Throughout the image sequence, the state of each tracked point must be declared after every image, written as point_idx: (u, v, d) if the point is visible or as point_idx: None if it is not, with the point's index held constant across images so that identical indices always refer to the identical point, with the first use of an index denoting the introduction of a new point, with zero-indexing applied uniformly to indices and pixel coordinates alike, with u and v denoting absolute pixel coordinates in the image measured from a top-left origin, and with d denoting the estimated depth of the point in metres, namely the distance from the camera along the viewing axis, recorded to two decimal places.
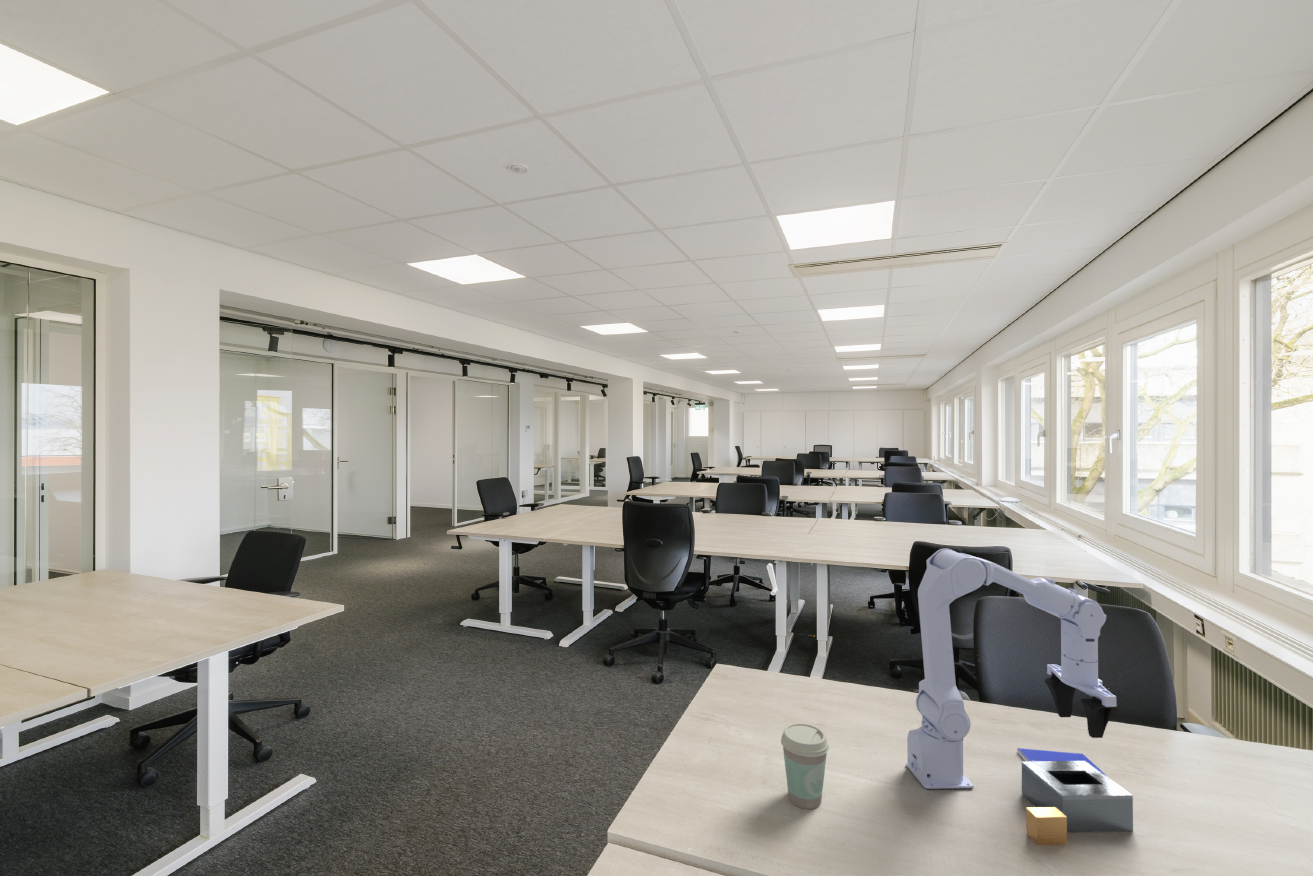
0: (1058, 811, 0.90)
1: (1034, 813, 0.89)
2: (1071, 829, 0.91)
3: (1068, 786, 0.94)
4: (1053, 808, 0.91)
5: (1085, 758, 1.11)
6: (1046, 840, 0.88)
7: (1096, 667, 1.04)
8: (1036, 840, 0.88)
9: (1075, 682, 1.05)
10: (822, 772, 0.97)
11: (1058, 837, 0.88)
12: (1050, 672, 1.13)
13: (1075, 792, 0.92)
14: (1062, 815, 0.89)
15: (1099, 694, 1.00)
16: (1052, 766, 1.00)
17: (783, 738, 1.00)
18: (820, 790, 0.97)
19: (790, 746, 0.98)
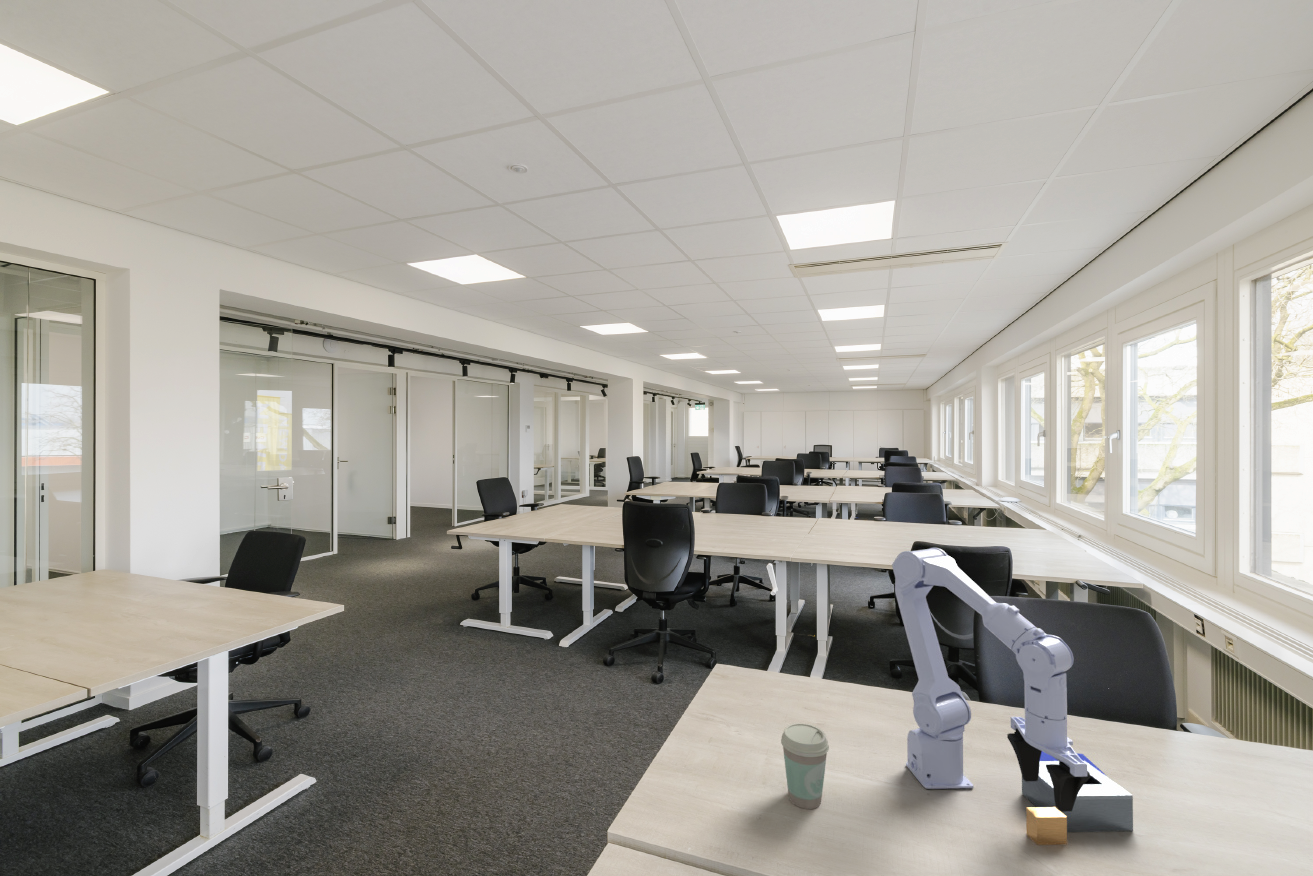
0: (1058, 811, 0.90)
1: (1034, 813, 0.89)
2: (1071, 829, 0.91)
3: None
4: (1053, 808, 0.91)
5: (1085, 758, 1.11)
6: (1046, 840, 0.88)
7: (1065, 726, 0.87)
8: (1036, 840, 0.88)
9: (1040, 743, 0.88)
10: (822, 772, 0.97)
11: (1058, 837, 0.88)
12: (1014, 726, 0.96)
13: None
14: (1062, 815, 0.89)
15: (1067, 760, 0.84)
16: None
17: (783, 738, 1.00)
18: (820, 790, 0.97)
19: (790, 746, 0.98)
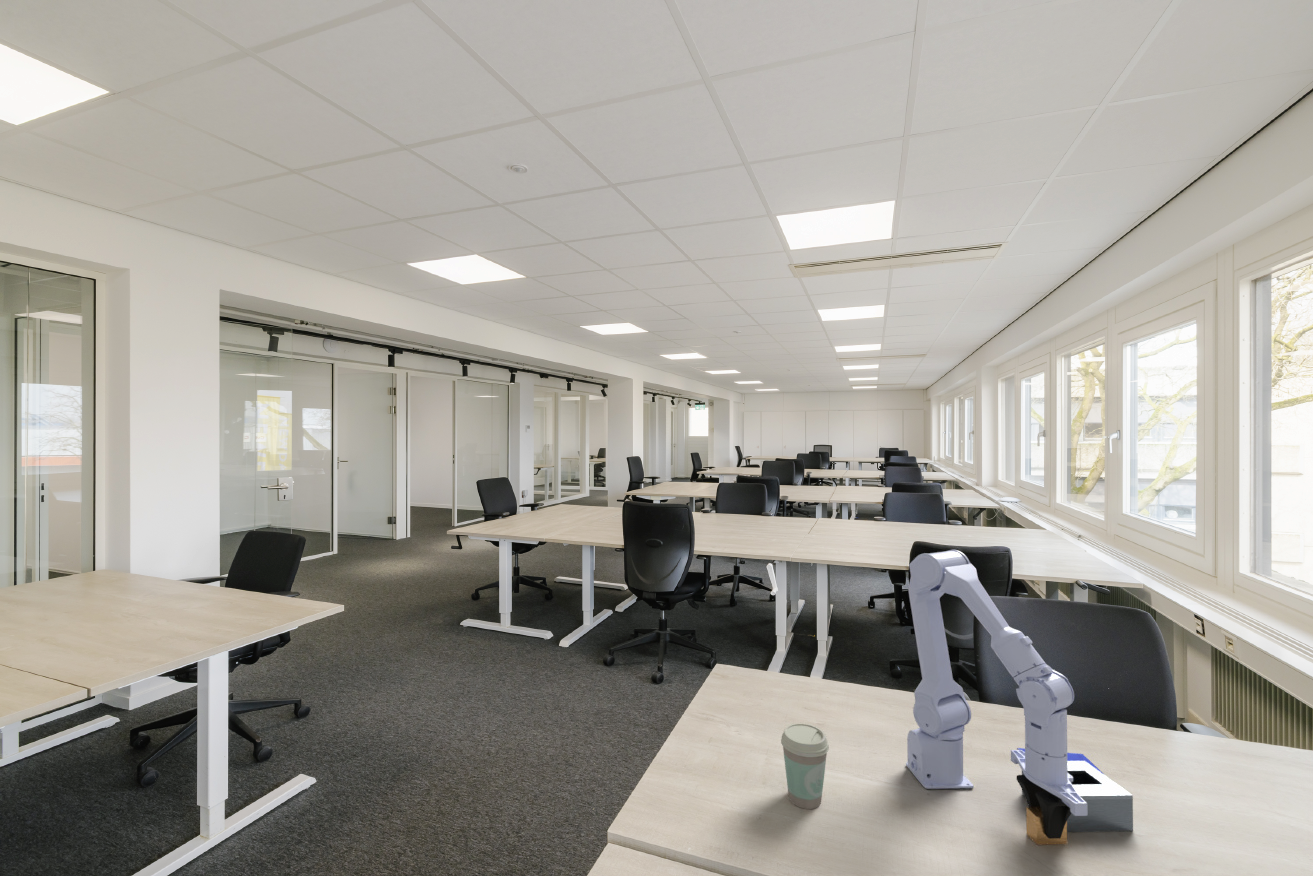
0: None
1: (1034, 813, 0.89)
2: (1071, 829, 0.91)
3: None
4: None
5: (1085, 758, 1.11)
6: (1046, 840, 0.88)
7: (1065, 763, 0.87)
8: (1036, 840, 0.88)
9: (1040, 779, 0.88)
10: (822, 772, 0.97)
11: None
12: (1014, 760, 0.96)
13: None
14: None
15: (1067, 799, 0.84)
16: None
17: (783, 738, 1.00)
18: (820, 790, 0.97)
19: (790, 746, 0.98)
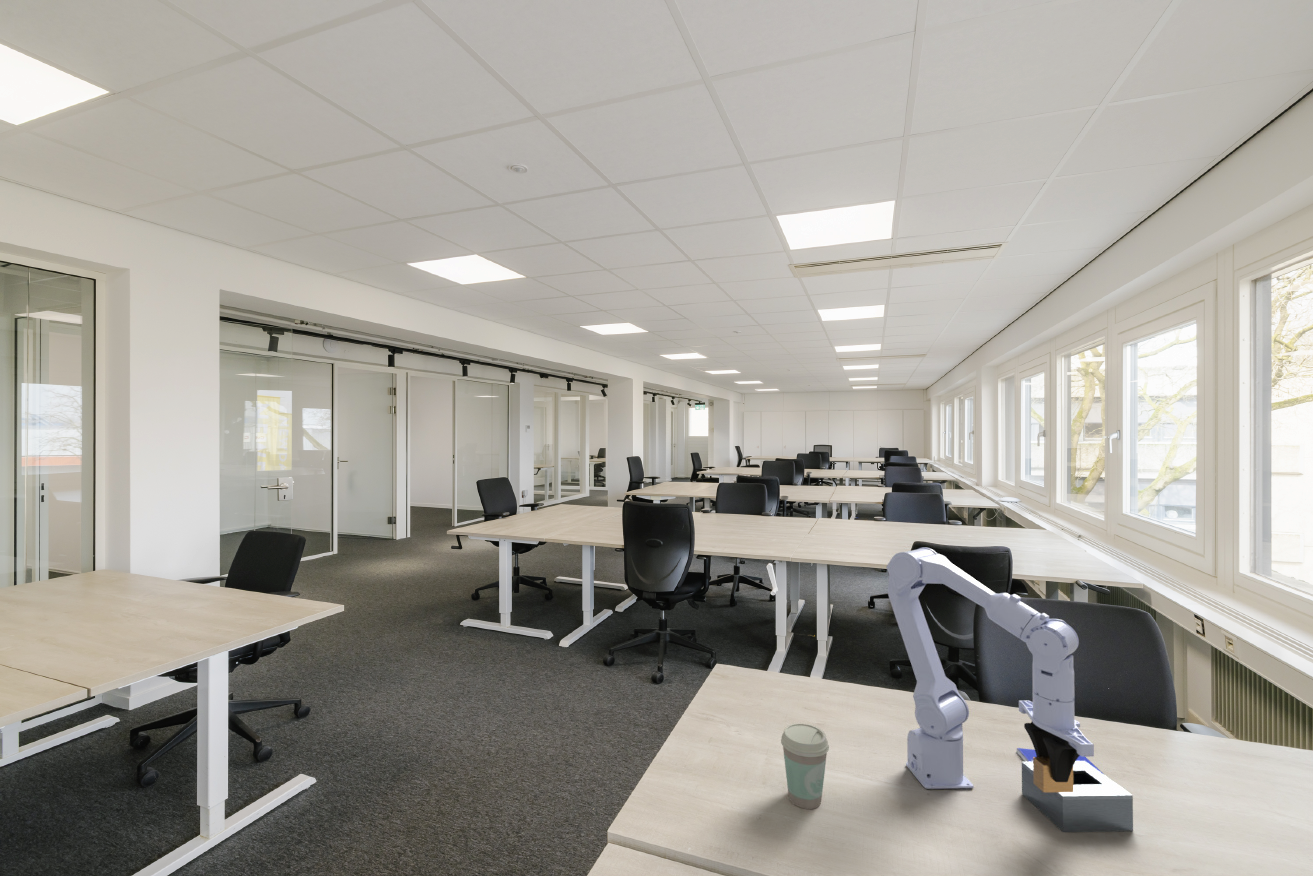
0: None
1: (1041, 762, 0.91)
2: (1071, 829, 0.91)
3: None
4: None
5: (1085, 758, 1.11)
6: (1053, 787, 0.90)
7: (1072, 708, 0.89)
8: (1043, 787, 0.90)
9: (1047, 724, 0.90)
10: (822, 772, 0.97)
11: (1065, 785, 0.90)
12: (1022, 710, 0.98)
13: (1075, 792, 0.92)
14: None
15: (1074, 741, 0.86)
16: None
17: (783, 738, 1.00)
18: (820, 790, 0.97)
19: (790, 746, 0.98)
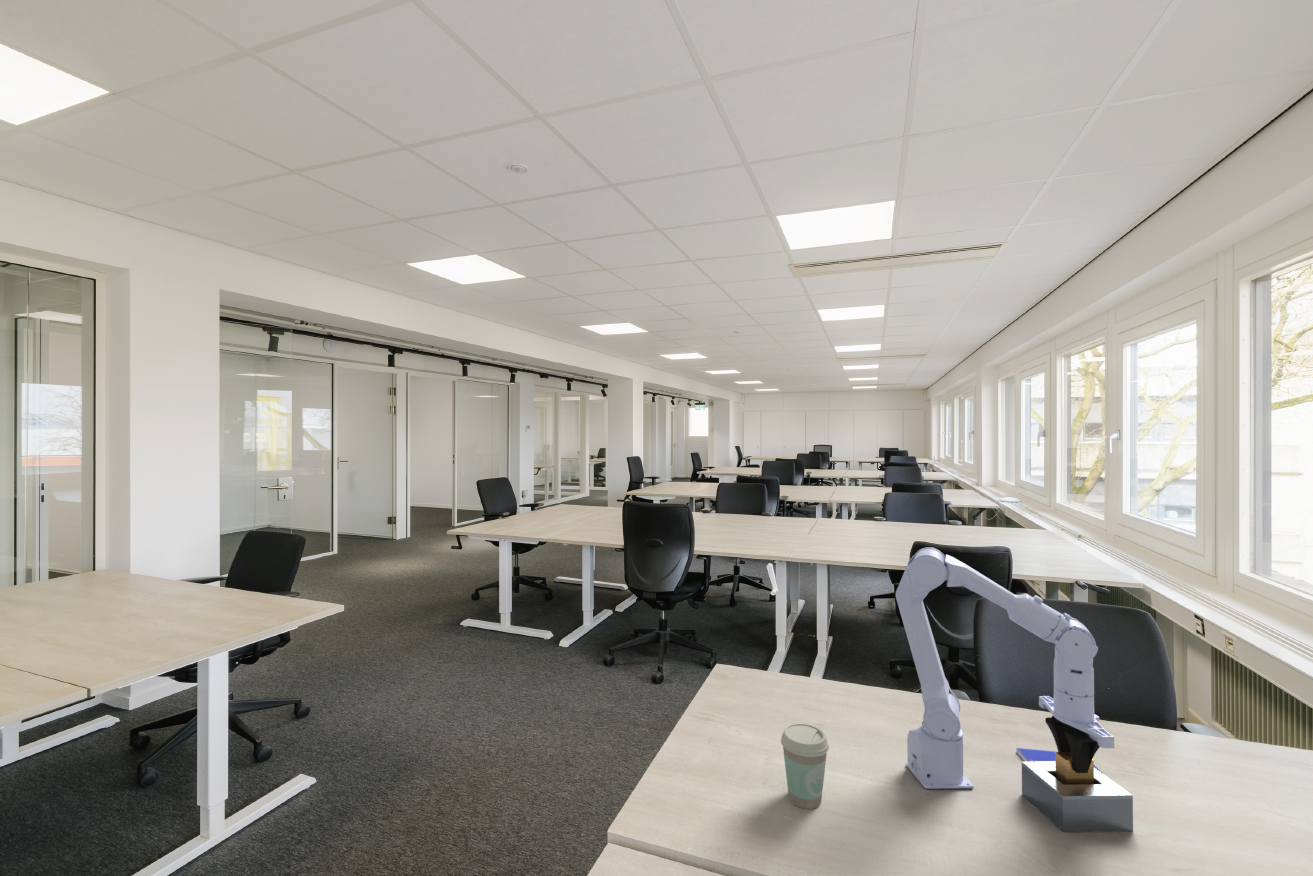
0: None
1: (1063, 757, 0.96)
2: (1071, 829, 0.91)
3: (1068, 786, 0.94)
4: None
5: None
6: (1074, 781, 0.95)
7: (1092, 702, 0.94)
8: (1065, 781, 0.95)
9: (1069, 718, 0.95)
10: (822, 772, 0.97)
11: (1086, 778, 0.95)
12: (1042, 705, 1.03)
13: (1075, 792, 0.92)
14: None
15: (1095, 734, 0.91)
16: (1052, 766, 1.00)
17: (783, 738, 1.00)
18: (820, 790, 0.97)
19: (790, 746, 0.98)
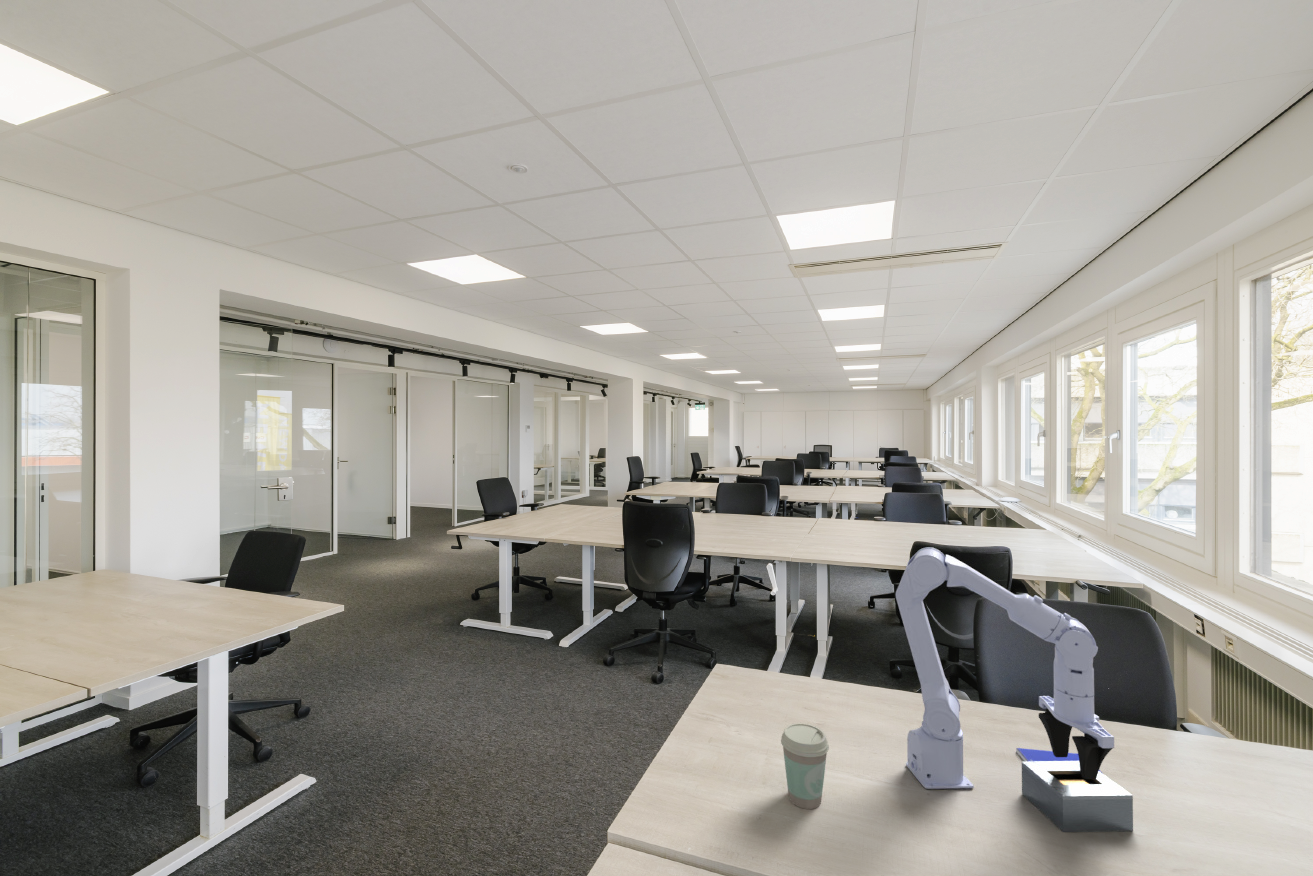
0: (1086, 783, 0.96)
1: (1063, 784, 0.96)
2: (1071, 829, 0.91)
3: (1068, 786, 0.94)
4: (1081, 780, 0.97)
5: None
6: None
7: (1092, 702, 0.94)
8: None
9: (1069, 718, 0.95)
10: (822, 772, 0.97)
11: None
12: (1042, 705, 1.03)
13: (1075, 792, 0.92)
14: None
15: (1095, 734, 0.91)
16: (1052, 766, 1.00)
17: (783, 738, 1.00)
18: (820, 790, 0.97)
19: (790, 746, 0.98)
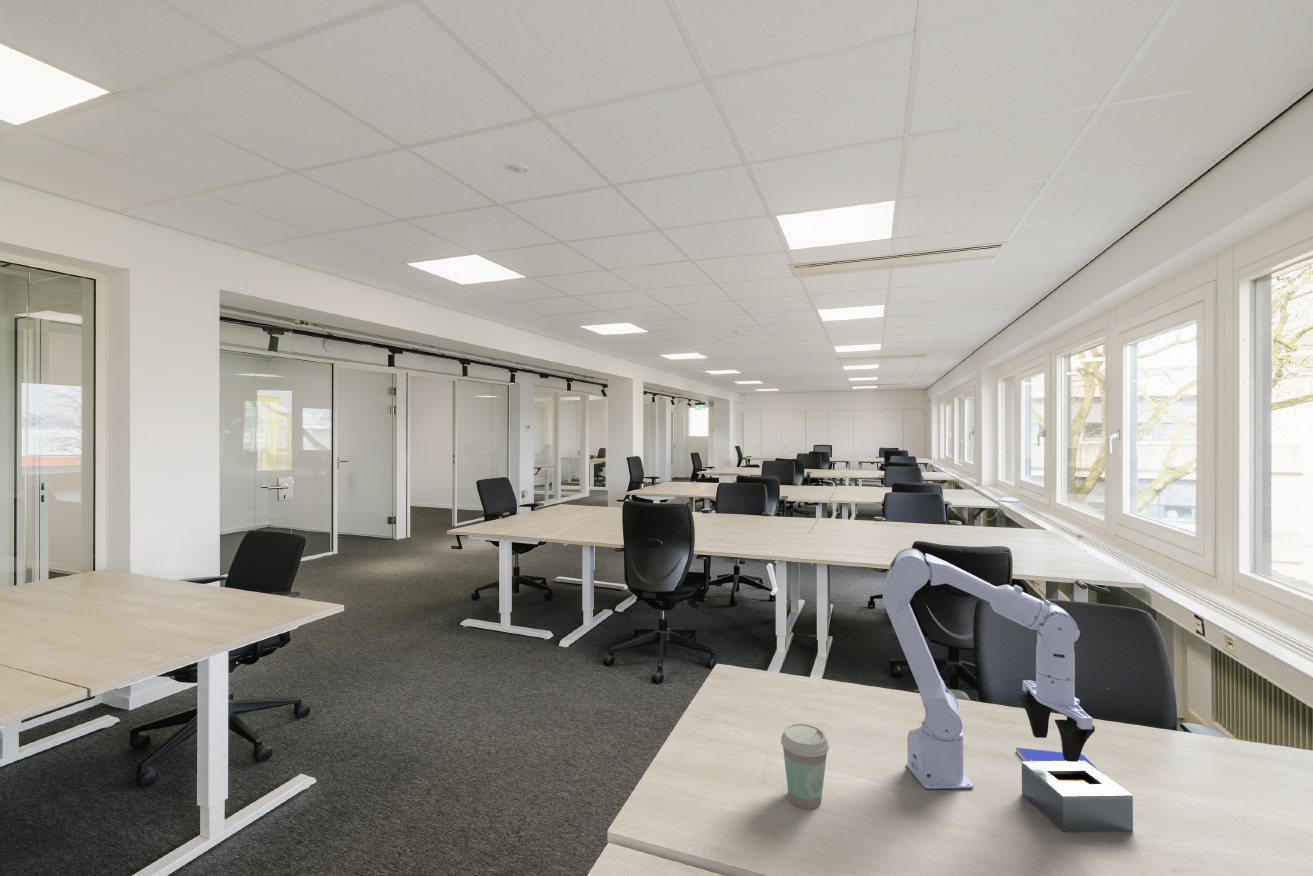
0: (1086, 783, 0.96)
1: None
2: (1071, 829, 0.91)
3: (1068, 786, 0.94)
4: (1081, 781, 0.97)
5: (1084, 758, 1.11)
6: None
7: (1072, 685, 0.97)
8: None
9: (1049, 701, 0.97)
10: (822, 772, 0.97)
11: None
12: (1025, 689, 1.05)
13: (1075, 792, 0.92)
14: None
15: (1074, 715, 0.93)
16: (1052, 766, 1.00)
17: (783, 738, 1.00)
18: (820, 790, 0.97)
19: (790, 746, 0.98)
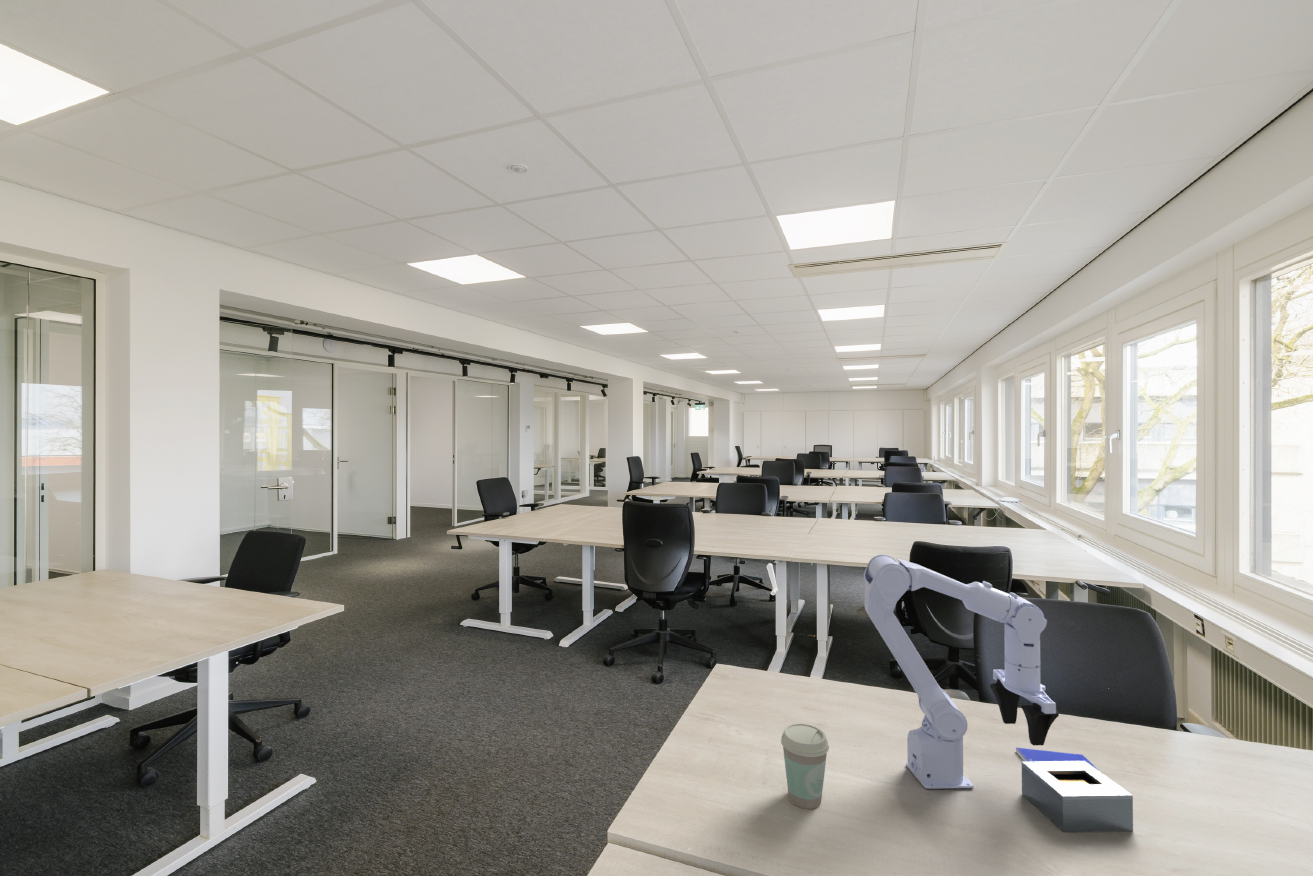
0: (1086, 783, 0.96)
1: None
2: (1071, 829, 0.91)
3: (1068, 786, 0.94)
4: (1081, 781, 0.97)
5: (1084, 759, 1.11)
6: None
7: (1038, 673, 1.01)
8: None
9: (1017, 688, 1.02)
10: (822, 772, 0.97)
11: None
12: (996, 677, 1.10)
13: (1075, 792, 0.92)
14: None
15: (1039, 701, 0.98)
16: (1052, 766, 1.00)
17: (783, 738, 1.00)
18: (820, 790, 0.97)
19: (790, 746, 0.98)
